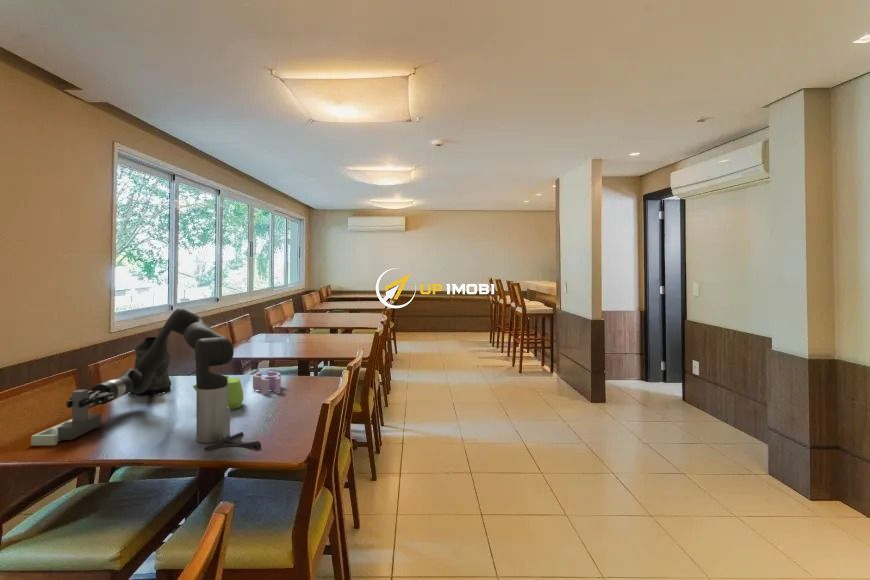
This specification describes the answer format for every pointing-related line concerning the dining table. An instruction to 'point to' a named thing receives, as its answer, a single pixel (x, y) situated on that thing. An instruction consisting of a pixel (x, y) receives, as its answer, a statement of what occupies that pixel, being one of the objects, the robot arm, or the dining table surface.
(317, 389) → the dining table surface
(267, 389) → the clip
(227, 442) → the bracket
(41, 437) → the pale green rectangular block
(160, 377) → the beer stein
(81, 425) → the gray t-shaped block
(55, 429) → the grey cube block
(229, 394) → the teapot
